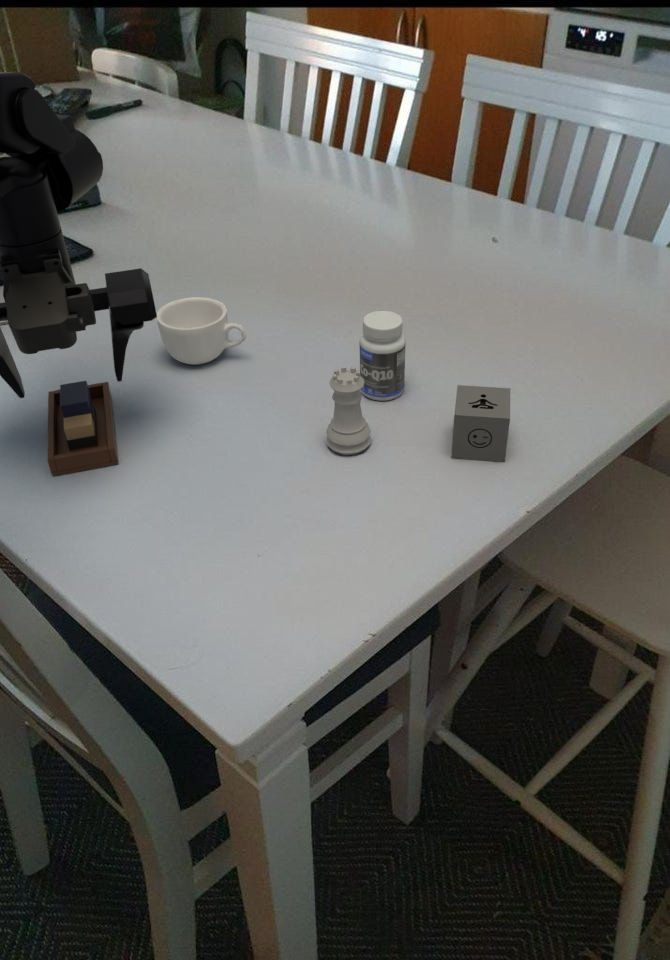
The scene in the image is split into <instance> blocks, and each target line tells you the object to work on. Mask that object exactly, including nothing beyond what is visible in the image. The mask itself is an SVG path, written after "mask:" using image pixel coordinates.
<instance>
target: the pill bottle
mask: <svg viewBox="0 0 670 960" xmlns="http://www.w3.org/2000/svg"><path fill="white" fill-rule="evenodd" d="M403 322H404V321H403V318H402V316H401V315H400V314H398V313H396V312H393V311H389V310H375V311H373V312H370V313H368V314H366V315H365V316H364V317H363V319H362V333H361V335H360V338H359V344H358V346H359V372H360V376H361V377H362V378H363V380H364V385H363V387H362V388H361V389H360V392H361V394H362V395H363V396H365V397H366V398H368V399H370V400H374V401H379V402H386V401H387V402H388V401H391V400H394V399H397V398H399V397H400V396H401V395H402V394H403V393H404V390H405V378H406V377H405V376H406V375H405V373H406V348H407V347H406V344H407V341H406V336H405V335H404V334H403Z"/></svg>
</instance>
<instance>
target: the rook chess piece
mask: <svg viewBox="0 0 670 960" xmlns="http://www.w3.org/2000/svg"><path fill="white" fill-rule="evenodd" d="M349 369H350V370H347V366H340V370H339V369H338V368H336V369H335V370H333V374H332V377H331V378H330V379H329V381H328V384H329V387H330V388H331V390H333V391H334V392H333V393H332V396H331V398H332V400H333V401H334V409H333V417H332V418H330V419H331V420H330V422H329V424H328V426H327V429H326V432H325V434H326V438H325V442H326V445H327V447H329V448H330V449H331V450H332V451H333V452H334V453H337V454H338V455H339V454H340V455H343V456H352V455H358V454H360V453H362V452H364V450H366V449H367V448H368V447H369V446H370V444H371V443H372V436H371V428H370V426H369V424H368V422H367V421H366V418H365V417H364V416H363V412H362V407H361V400H362V398H363V393H362V392H361V388H362V387H363V385H364V380H363V378H362V377H361V376H360V370H357V368H356V367H353V366H351V367H350V368H349Z"/></svg>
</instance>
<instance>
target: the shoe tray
mask: <svg viewBox="0 0 670 960" xmlns="http://www.w3.org/2000/svg"><path fill="white" fill-rule="evenodd" d="M87 385H88V389H89V393H90V396H91V400H92V403H94V407H95V410H96V420H97V434H98V445H96V446H91V447H85V448H80V449H74V450H69V448H68V444H67V441H66V434H65V431H64V417H63V414H62V411H61V407H60V389H56V390H51V391H50V390H49V391H48V392H47V456H46V457H47V458H46V459H47V463H48V466H49V469H50V470H49V471H50V472H51V475H52V477H57V476H62V475H68V474H74V473H78V472H84V471H89V470H94V469H101V468H106V467H111V466H112V467H113V466H116V465H119V463H120V462H119V455H118V445H117V436H116V434H117V433H116V425H115V423H116V422H115V415H114V405H113V396H112V392H111V388H110V383H109V381H104V382H98V383H92V384H87Z"/></svg>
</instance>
